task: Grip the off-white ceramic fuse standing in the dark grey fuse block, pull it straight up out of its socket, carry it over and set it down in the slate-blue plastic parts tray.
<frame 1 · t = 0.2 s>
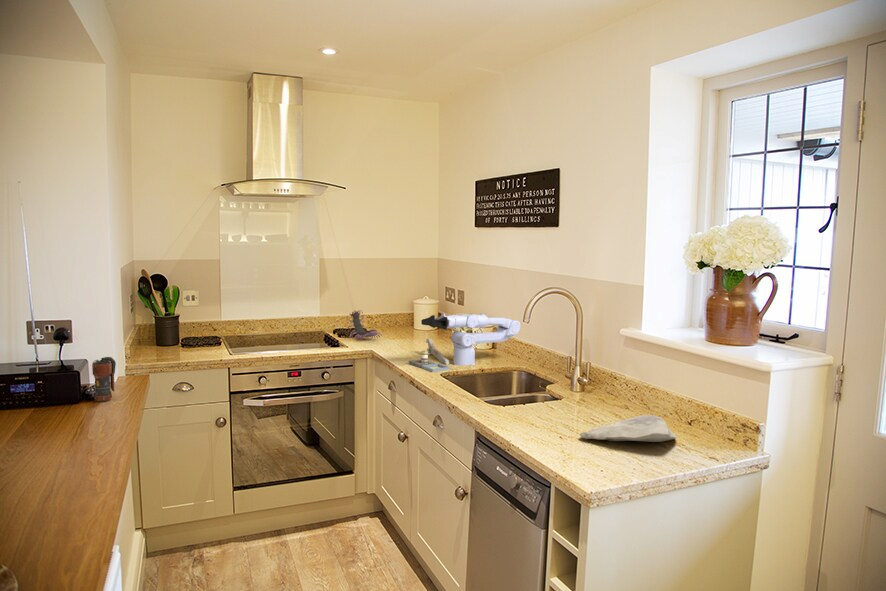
hand: (426, 322, 267), 21 cm above the worktop, tool horizontal, fingers open, 7 cm apart
decorative stone: (626, 438, 187), on the worktop
toy: (363, 339, 342), on the worktop
blown fuse: (424, 365, 275), point 1 cm above the worktop, touching fuse block
wrench: (436, 360, 292), on the worktop
grenade: (105, 400, 214), on the worktop
parts tray: (435, 370, 269), on the worktop
fuse block: (421, 366, 277), on the worktop
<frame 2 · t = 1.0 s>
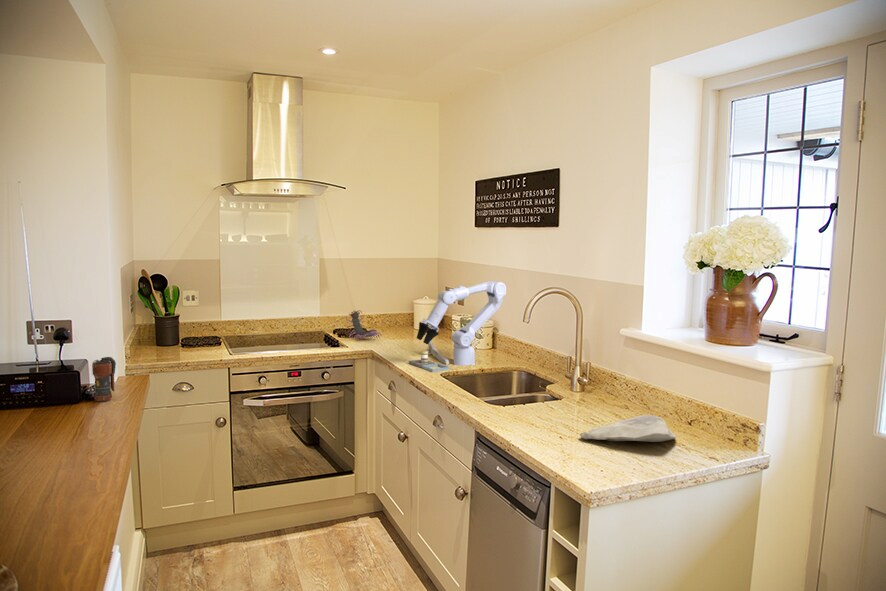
hand: (421, 341, 271), 12 cm above the worktop, tool tilted 30°, fingers open, 7 cm apart
nothing on the worktop moved.
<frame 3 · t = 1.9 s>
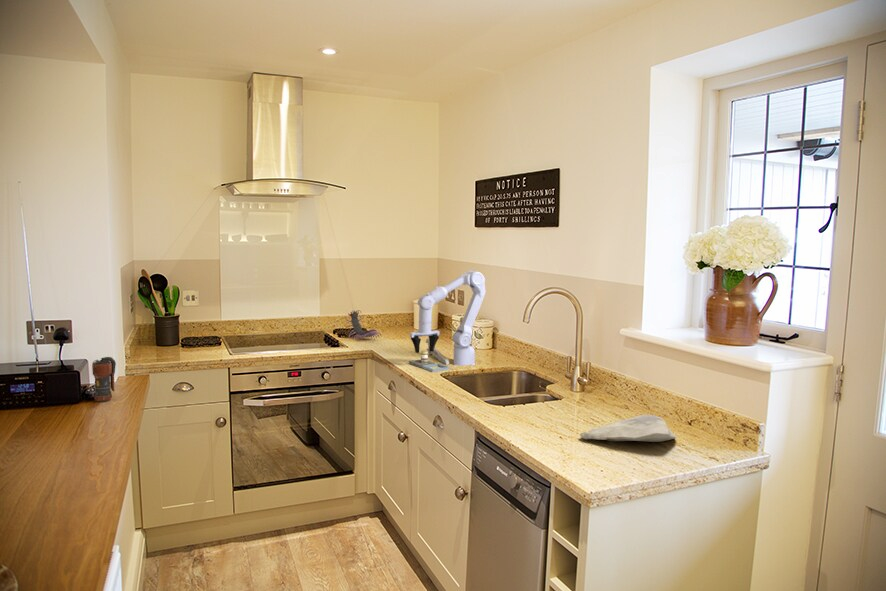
hand: (424, 352, 274), 7 cm above the worktop, tool pointing down, fingers open, 7 cm apart
nothing on the worktop moved.
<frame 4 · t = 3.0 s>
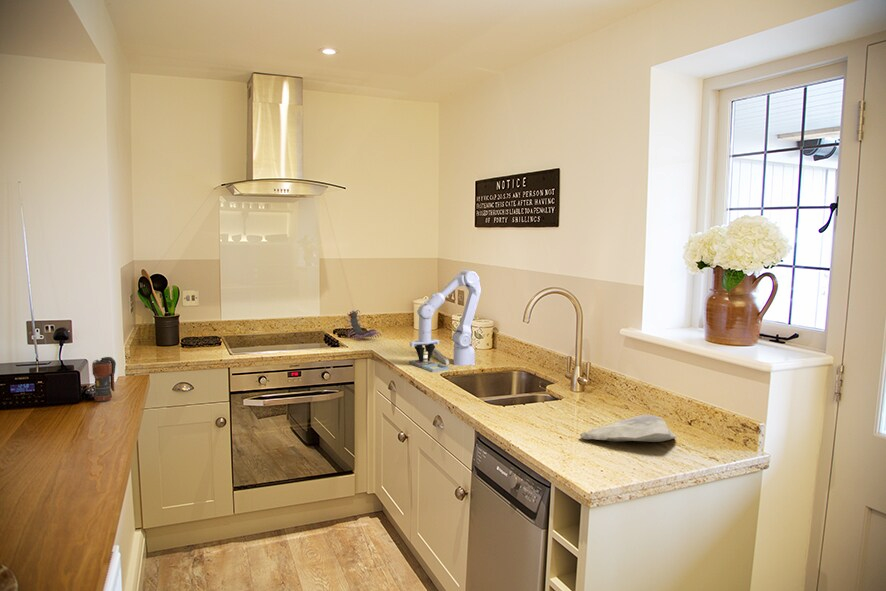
hand: (424, 361, 275), 3 cm above the worktop, tool pointing down, fingers closed on blown fuse, 3 cm apart
blown fuse: (424, 365, 275), point 1 cm above the worktop, touching fuse block, gripper
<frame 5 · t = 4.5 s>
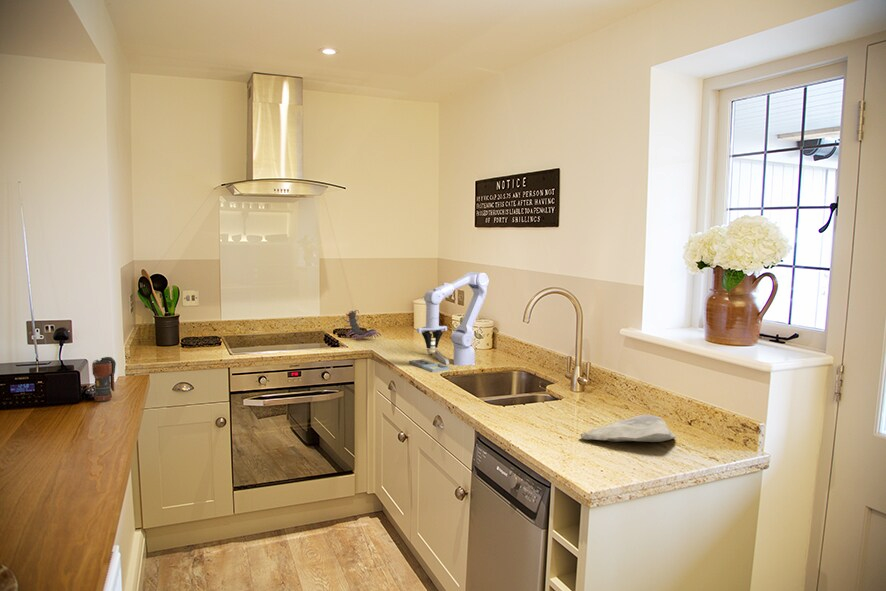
hand: (431, 347, 270), 10 cm above the worktop, tool pointing down, fingers closed on blown fuse, 3 cm apart
blown fuse: (431, 352, 270), point 8 cm above the worktop, touching gripper
when the fingers open (3 cm above the worktop, at t = 6.2 s): blown fuse stays where it is, resting on parts tray.
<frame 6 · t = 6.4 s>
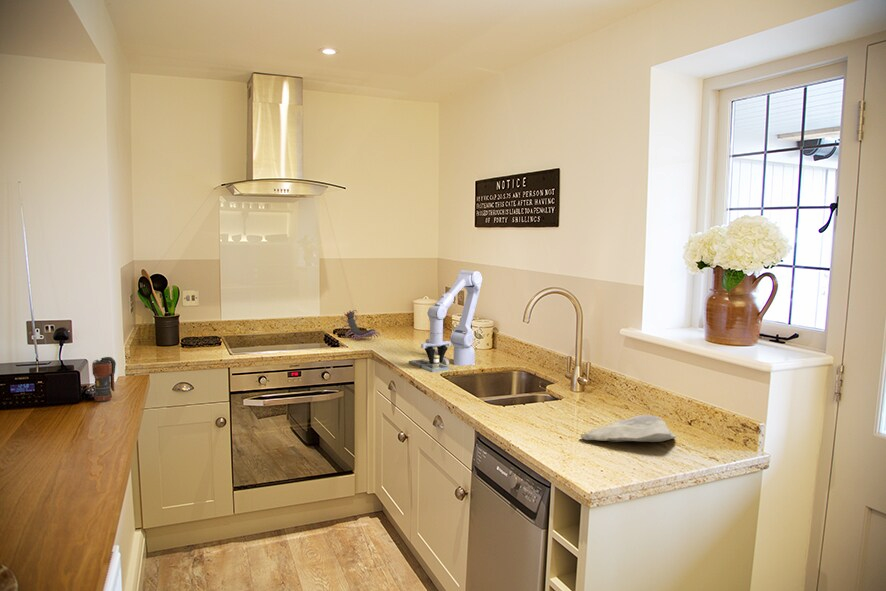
hand: (435, 363, 269), 3 cm above the worktop, tool pointing down, fingers open, 4 cm apart
blown fuse: (435, 369, 269), resting on parts tray
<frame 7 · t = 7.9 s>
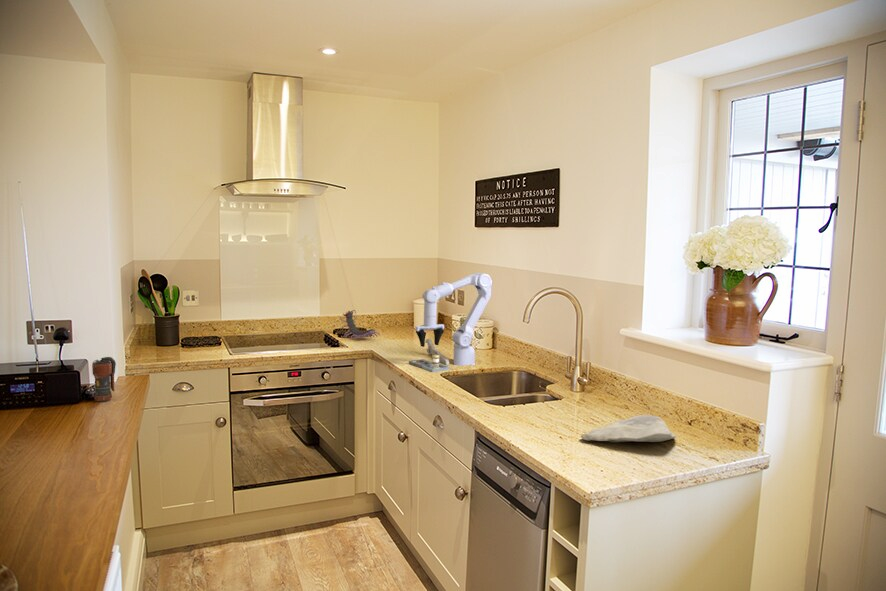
hand: (429, 345, 274), 10 cm above the worktop, tool pointing down, fingers open, 7 cm apart
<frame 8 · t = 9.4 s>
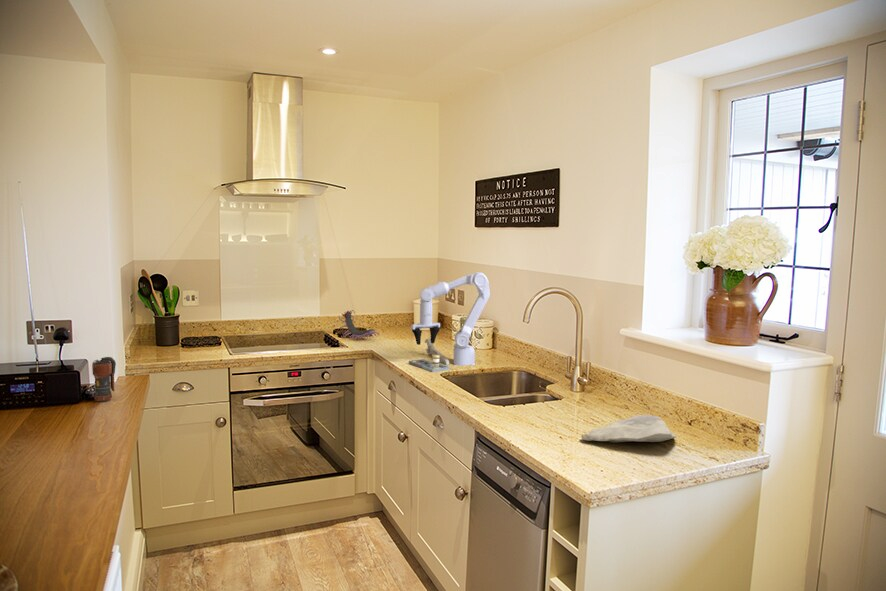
hand: (425, 343, 279), 10 cm above the worktop, tool pointing down, fingers open, 7 cm apart
at the end: blown fuse inside the target area on the parts tray (0.0 cm from its centre), point 0.4 cm above the parts tray's base; blown fuse touching parts tray; the gripper is holding nothing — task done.
